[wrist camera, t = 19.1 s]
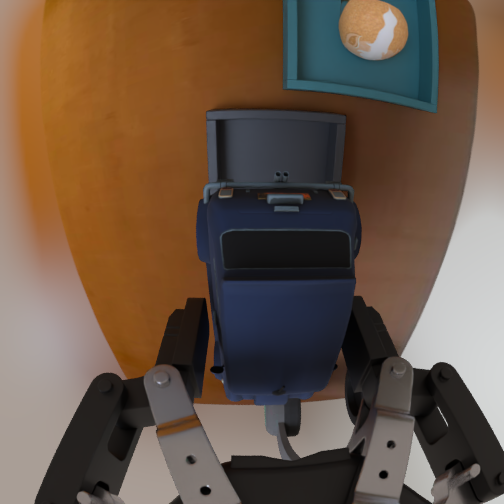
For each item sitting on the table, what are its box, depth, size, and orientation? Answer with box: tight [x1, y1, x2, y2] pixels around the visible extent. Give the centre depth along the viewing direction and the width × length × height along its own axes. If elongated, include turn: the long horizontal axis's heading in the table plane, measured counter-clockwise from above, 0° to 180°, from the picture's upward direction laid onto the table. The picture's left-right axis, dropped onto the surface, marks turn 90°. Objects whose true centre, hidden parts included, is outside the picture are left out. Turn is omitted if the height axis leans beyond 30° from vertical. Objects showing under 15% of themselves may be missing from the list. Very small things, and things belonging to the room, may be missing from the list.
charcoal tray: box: [206, 109, 346, 195], centre depth 27 cm, size 18×12×3 cm, turn 0°
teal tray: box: [283, 0, 439, 113], centre depth 17 cm, size 15×15×3 cm
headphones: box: [264, 370, 364, 461], centre depth 35 cm, size 19×11×20 cm, turn 92°
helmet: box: [339, 0, 408, 60], centre depth 16 cm, size 6×7×8 cm
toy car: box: [196, 171, 362, 405], centre depth 11 cm, size 6×12×6 cm, turn 0°
